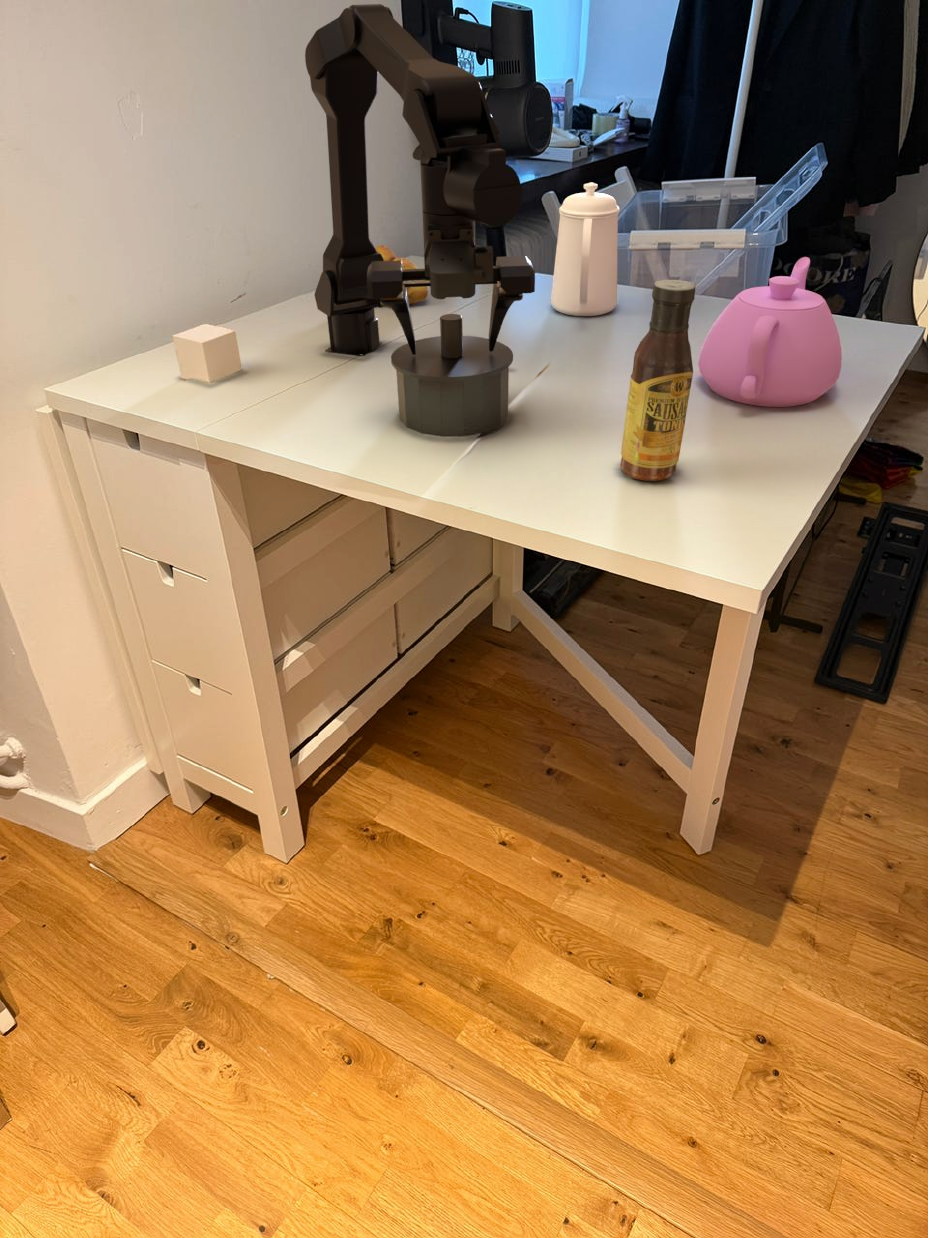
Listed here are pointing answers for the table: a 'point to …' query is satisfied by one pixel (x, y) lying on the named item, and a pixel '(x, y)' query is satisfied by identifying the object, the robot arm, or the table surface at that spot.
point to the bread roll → (412, 292)
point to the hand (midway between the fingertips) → (452, 351)
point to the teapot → (773, 345)
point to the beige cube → (207, 353)
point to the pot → (454, 405)
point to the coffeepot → (586, 254)
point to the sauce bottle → (660, 386)
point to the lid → (452, 355)
